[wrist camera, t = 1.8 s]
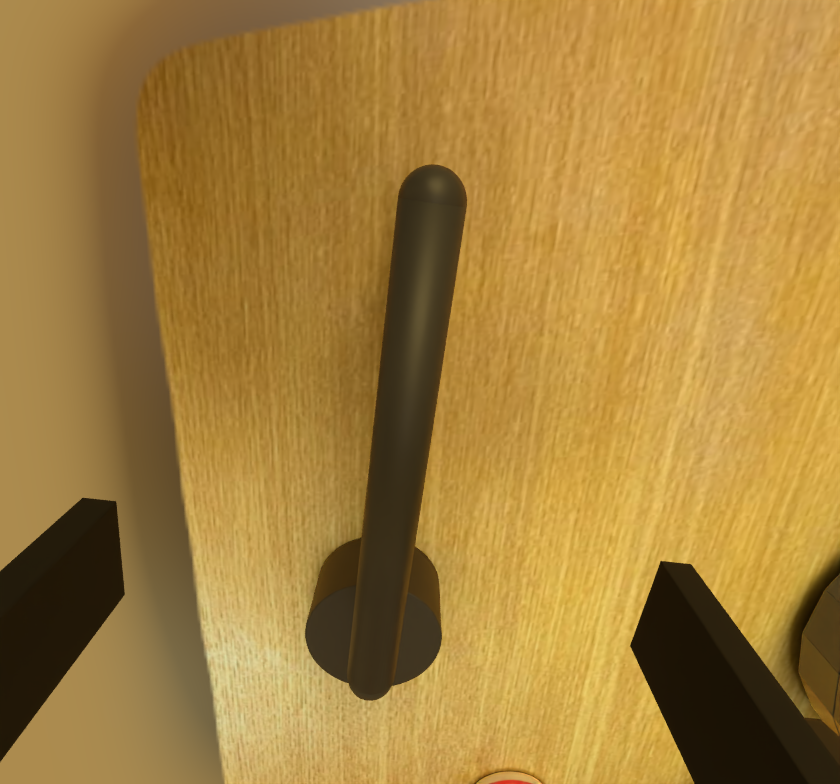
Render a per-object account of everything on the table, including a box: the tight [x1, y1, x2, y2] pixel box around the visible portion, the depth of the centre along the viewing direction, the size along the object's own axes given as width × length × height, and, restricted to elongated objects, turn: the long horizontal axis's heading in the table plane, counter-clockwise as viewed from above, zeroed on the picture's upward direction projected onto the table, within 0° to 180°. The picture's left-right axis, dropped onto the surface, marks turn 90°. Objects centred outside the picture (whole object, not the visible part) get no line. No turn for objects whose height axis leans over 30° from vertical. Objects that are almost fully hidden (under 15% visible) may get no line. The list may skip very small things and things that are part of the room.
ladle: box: [305, 165, 467, 700], centre depth 20 cm, size 24×6×8 cm, turn 173°
